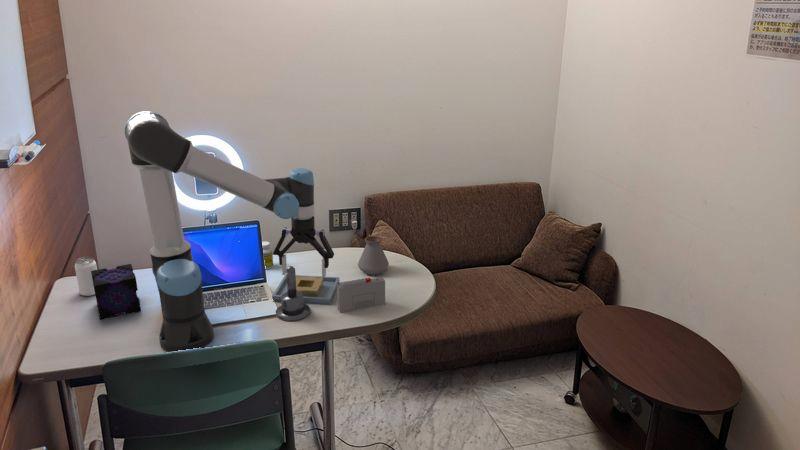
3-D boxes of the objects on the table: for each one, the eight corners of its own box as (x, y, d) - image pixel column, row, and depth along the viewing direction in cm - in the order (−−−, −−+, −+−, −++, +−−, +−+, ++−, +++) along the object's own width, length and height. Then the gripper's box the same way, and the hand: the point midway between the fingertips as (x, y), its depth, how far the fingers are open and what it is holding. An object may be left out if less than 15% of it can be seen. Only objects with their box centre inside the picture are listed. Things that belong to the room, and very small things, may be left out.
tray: (330, 304, 198) (330, 299, 197) (272, 301, 199) (272, 296, 199) (339, 282, 213) (339, 277, 212) (285, 279, 215) (285, 274, 214)
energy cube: (136, 295, 202) (131, 263, 197) (141, 311, 192) (135, 277, 188) (97, 303, 196) (90, 270, 192) (100, 320, 186) (93, 285, 182)
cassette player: (382, 301, 201) (382, 274, 197) (385, 304, 198) (385, 277, 195) (337, 309, 195) (336, 281, 192) (339, 313, 193) (339, 285, 189)
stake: (305, 322, 187) (303, 275, 181) (271, 320, 188) (268, 273, 182) (313, 305, 197) (311, 260, 191) (281, 303, 198) (278, 258, 192)
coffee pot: (391, 276, 219) (392, 238, 213) (360, 278, 216) (360, 240, 211) (380, 253, 238) (380, 218, 233) (351, 255, 236) (351, 220, 230)
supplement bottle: (268, 262, 228) (266, 239, 225) (276, 267, 224) (274, 243, 221) (256, 266, 225) (254, 243, 221) (263, 271, 221) (261, 247, 218)
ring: (317, 299, 200) (317, 291, 199) (288, 297, 201) (287, 289, 200) (325, 282, 212) (324, 274, 210) (297, 281, 212) (297, 273, 211)
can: (85, 298, 199) (79, 265, 195) (76, 292, 203) (69, 260, 199) (104, 291, 204) (99, 259, 200) (95, 286, 208) (89, 254, 204)
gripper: (342, 214, 198) (342, 272, 205) (268, 210, 200) (271, 267, 207) (338, 222, 191) (338, 282, 198) (262, 217, 193) (265, 277, 200)
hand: (304, 274), depth 203 cm, fingers open, 13 cm apart
